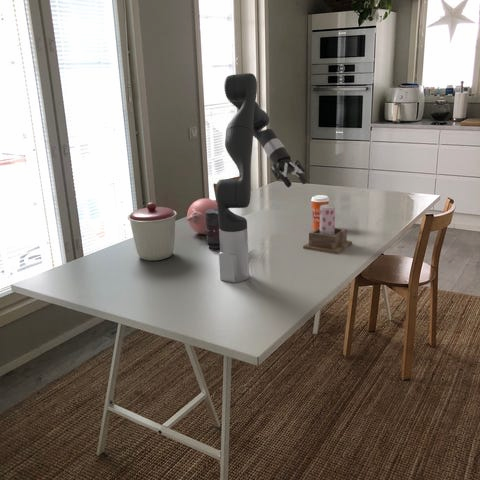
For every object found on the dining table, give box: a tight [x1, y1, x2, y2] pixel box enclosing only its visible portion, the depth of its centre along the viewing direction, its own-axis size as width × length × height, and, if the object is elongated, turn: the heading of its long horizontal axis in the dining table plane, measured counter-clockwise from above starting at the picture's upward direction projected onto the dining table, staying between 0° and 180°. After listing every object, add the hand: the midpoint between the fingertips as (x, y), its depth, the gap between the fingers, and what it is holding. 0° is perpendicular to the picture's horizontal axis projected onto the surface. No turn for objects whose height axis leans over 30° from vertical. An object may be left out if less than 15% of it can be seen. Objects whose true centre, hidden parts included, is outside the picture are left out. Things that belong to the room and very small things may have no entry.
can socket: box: [302, 227, 353, 255], centre depth 201 cm, size 14×14×6 cm
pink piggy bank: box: [186, 198, 218, 236], centre depth 220 cm, size 15×20×15 cm
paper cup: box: [310, 194, 330, 230], centre depth 223 cm, size 8×8×14 cm
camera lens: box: [205, 209, 220, 252], centre depth 203 cm, size 8×8×15 cm
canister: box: [127, 201, 178, 261], centre depth 195 cm, size 18×18×21 cm
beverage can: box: [320, 203, 336, 236], centre depth 199 cm, size 6×6×15 cm
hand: (297, 184), depth 203 cm, fingers open, 8 cm apart
